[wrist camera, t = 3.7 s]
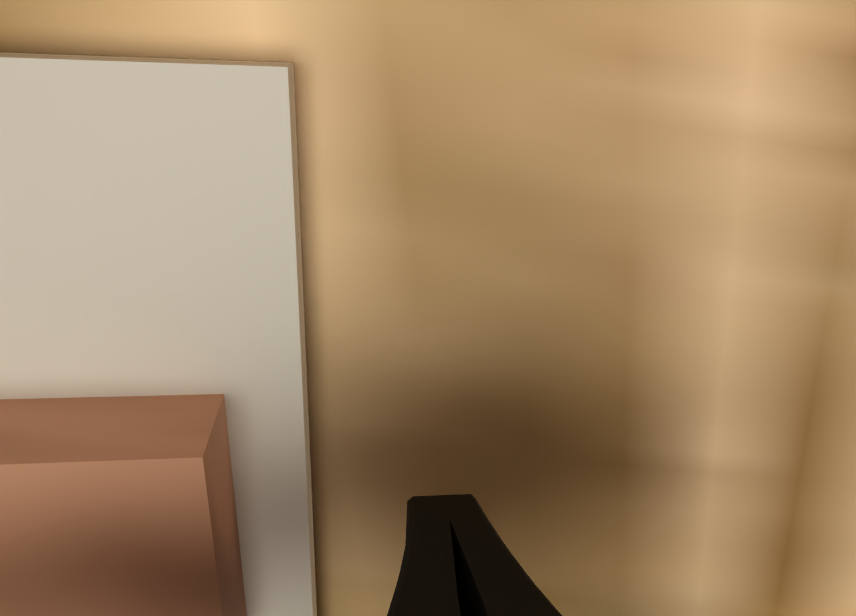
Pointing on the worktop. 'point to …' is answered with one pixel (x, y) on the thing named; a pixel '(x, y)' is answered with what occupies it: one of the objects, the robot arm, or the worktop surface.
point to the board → (167, 267)
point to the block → (118, 508)
